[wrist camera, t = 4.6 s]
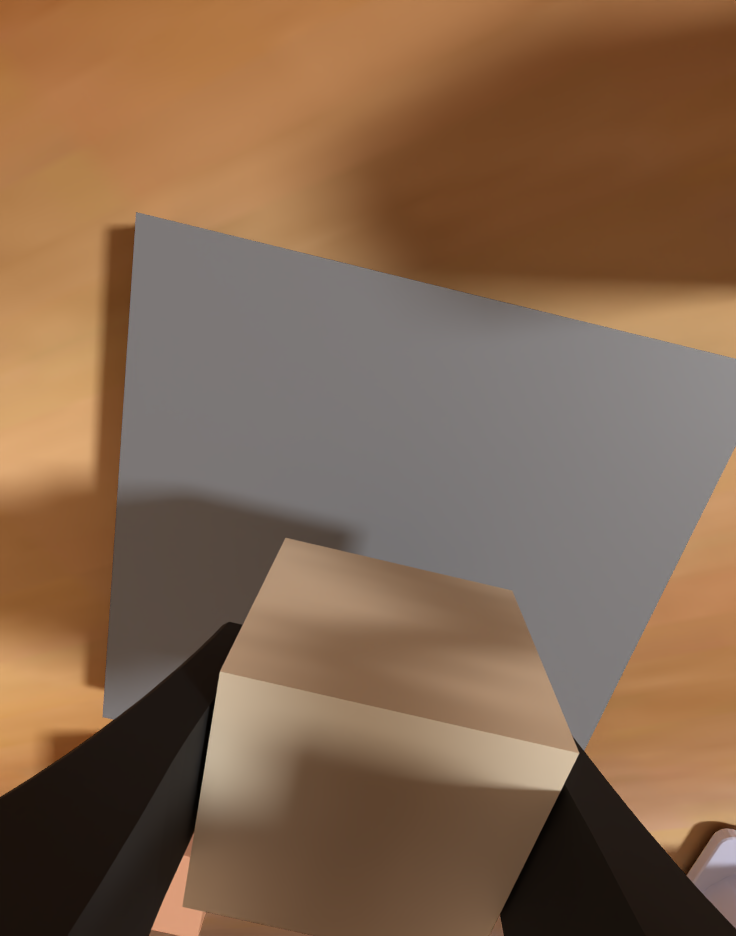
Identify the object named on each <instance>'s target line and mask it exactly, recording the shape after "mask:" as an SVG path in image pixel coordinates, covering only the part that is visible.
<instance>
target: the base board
mask: <svg viewBox="0 0 736 936" xmlns="http://www.w3.org/2000/svg"><path fill="white" fill-rule="evenodd" d="M735 446H736V359H734V358H730V357H726V356H722V355H718V354H714V353H710V352H706V351H702V350H697V349H693V348H689V347H685V346H681V345H677V344H673V343H669V342H665V341H661V340H657V339H652V338H648V337H644V336H640V335H636V334H632V333H628V332H624V331H620V330H616V329H612V328H607V327H603V326H599V325H595V324H591V323H587V322H583V321H579V320H575V319H571V318H567V317H562V316H558V315H554V314H550V313H546V312H542V311H538V310H534V309H530V308H526V307H522V306H518V305H513V304H509V303H505V302H501V301H497V300H493V299H489V298H485V297H481V296H477V295H473V294H468V293H464V292H460V291H456V290H452V289H448V288H444V287H440V286H436V285H432V284H428V283H423V282H419V281H415V280H411V279H407V278H403V277H399V276H395V275H391V274H387V273H383V272H379V271H374V270H370V269H366V268H362V267H358V266H354V265H350V264H346V263H342V262H338V261H334V260H329V259H325V258H321V257H317V256H313V255H309V254H305V253H301V252H297V251H293V250H289V249H284V248H280V247H276V246H272V245H268V244H264V243H260V242H256V241H252V240H248V239H244V238H240V237H235V236H231V235H227V234H223V233H219V232H215V231H211V230H207V229H203V228H199V227H195V226H190V225H186V224H182V223H178V222H174V221H170V220H166V219H162V218H158V217H154V216H150V215H145V214H141V213H137V212H136V222H135V237H134V252H133V267H132V282H131V297H130V313H129V328H128V343H127V358H126V373H125V388H124V403H123V418H122V433H121V448H120V463H119V478H118V494H117V509H116V524H115V539H114V554H113V569H112V584H111V599H110V614H109V629H108V644H107V660H106V675H105V690H104V705H103V717H105V718H109V719H115V718H117V717H118V716H119V715H121V714H122V713H123V712H124V711H126V710H127V709H128V708H130V707H131V706H132V705H134V704H135V703H136V702H137V701H139V700H140V699H141V698H142V697H144V696H145V695H146V694H147V693H149V692H150V691H151V690H152V689H153V688H155V687H156V686H157V685H158V684H159V683H160V682H162V681H163V680H164V679H165V678H166V677H167V676H169V675H170V674H171V673H172V672H173V671H174V670H176V669H177V668H178V667H179V666H180V665H181V664H182V663H184V662H185V661H186V660H187V659H188V658H189V657H190V656H191V655H192V654H193V653H195V652H196V651H197V650H198V649H199V648H200V647H201V646H202V645H203V644H204V643H205V642H206V641H207V640H208V639H209V638H210V637H211V636H212V635H213V634H214V633H215V632H216V631H217V630H218V629H219V628H220V627H221V626H222V625H224V624H225V623H227V622H233V623H237V624H242V625H243V623H244V621H245V619H246V617H247V615H248V613H249V611H250V609H251V607H252V605H253V603H254V601H255V599H256V597H257V595H258V593H259V591H260V589H261V587H262V585H263V583H264V581H265V579H266V577H267V575H268V572H269V570H270V568H271V566H272V564H273V562H274V560H275V558H276V556H277V554H278V552H279V550H280V548H281V546H282V544H283V542H284V540H285V538H289V539H293V540H298V541H302V542H306V543H310V544H315V545H319V546H323V547H328V548H332V549H336V550H340V551H345V552H349V553H353V554H358V555H362V556H366V557H370V558H375V559H379V560H383V561H388V562H392V563H396V564H400V565H405V566H409V567H413V568H418V569H422V570H426V571H430V572H435V573H439V574H443V575H448V576H452V577H456V578H460V579H465V580H469V581H473V582H478V583H482V584H486V585H490V586H495V587H499V588H503V589H508V590H512V591H513V594H514V596H515V599H516V601H517V604H518V606H519V608H520V611H521V613H522V616H523V618H524V620H525V623H526V625H527V628H528V630H529V633H530V635H531V637H532V640H533V642H534V645H535V647H536V650H537V652H538V654H539V657H540V659H541V662H542V664H543V667H544V669H545V671H546V674H547V676H548V679H549V681H550V683H551V686H552V688H553V691H554V693H555V696H556V698H557V700H558V703H559V705H560V708H561V710H562V713H563V715H564V717H565V720H566V722H567V725H568V727H569V730H570V732H571V734H572V736H573V737H574V739H575V740H576V741H577V742H578V744H579V745H580V746H581V748H582V749H583V750H585V748H586V746H587V744H588V742H589V740H590V738H591V736H592V734H593V732H594V730H595V728H596V726H597V724H598V722H599V720H600V718H601V716H602V714H603V712H604V710H605V708H606V706H607V704H608V702H609V700H610V698H611V696H612V694H613V692H614V690H615V688H616V686H617V684H618V681H619V679H620V677H621V675H622V673H623V671H624V669H625V667H626V665H627V663H628V661H629V659H630V657H631V655H632V653H633V651H634V649H635V647H636V645H637V643H638V641H639V639H640V637H641V635H642V633H643V631H644V629H645V627H646V625H647V623H648V621H649V619H650V617H651V615H652V613H653V611H654V609H655V607H656V605H657V603H658V601H659V599H660V597H661V595H662V593H663V591H664V589H665V587H666V585H667V583H668V581H669V579H670V577H671V575H672V573H673V571H674V569H675V567H676V565H677V563H678V561H679V559H680V557H681V555H682V553H683V551H684V549H685V547H686V545H687V543H688V541H689V539H690V537H691V535H692V533H693V531H694V529H695V527H696V525H697V523H698V521H699V519H700V517H701V515H702V513H703V511H704V509H705V507H706V505H707V503H708V501H709V498H710V496H711V494H712V492H713V490H714V488H715V486H716V484H717V482H718V480H719V478H720V476H721V474H722V472H723V470H724V468H725V466H726V464H727V462H728V460H729V458H730V456H731V454H732V452H733V450H734V448H735Z"/></svg>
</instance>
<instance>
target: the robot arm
mask: <svg viewBox="0 0 736 936" xmlns="http://www.w3.org/2000/svg"><path fill="white" fill-rule="evenodd" d="M241 628H242V624H237V623H233V622H227V623H225V624H224V625H222V626H221V627H220V628H219V629H218V630H217V631H216V632H215V633H214V634H213V635H212V636H211V637H210V638H209V639H208V640H207V641H206V642H205V643H204V644H203V645H202V646H201V647H200V648H199V649H198V650H197V651H196V652H195V653H193V654H192V655H191V656H190V657H189V658H188V659H187V660H186V661H185V662H184V663H182V664H181V665H180V666H179V667H178V668H177V669H176V670H174V671H173V672H172V673H171V674H170V675H169V676H167V677H166V678H165V679H164V680H163V681H162V682H160V683H159V684H158V685H157V686H156V687H155V688H153V689H152V690H151V691H150V692H149V693H147V694H146V695H145V696H144V697H142V698H141V699H140V700H139V701H137V702H136V703H135V704H134V705H132V706H131V707H130V708H128V709H127V710H126V711H124V712H123V713H122V714H121V715H119V716H118V717H117V718H115V719H114V720H113V721H111V722H110V723H109V724H108V725H106V726H105V727H104V728H102V729H101V730H100V731H98V732H97V733H96V734H94V735H93V736H92V737H90V738H89V739H87V740H86V741H85V742H83V743H82V744H80V745H79V746H78V747H76V748H75V749H73V750H72V751H70V752H69V753H68V754H66V755H65V756H63V757H62V758H60V759H59V760H57V761H56V762H54V763H53V764H51V765H50V766H48V767H47V768H45V769H44V770H42V771H41V772H39V773H38V774H36V775H35V776H33V777H32V778H30V779H29V780H27V781H25V782H24V783H22V784H21V785H19V786H17V787H16V788H14V789H13V790H11V791H9V792H8V793H6V794H4V795H3V796H1V797H0V936H149V934H150V931H151V929H152V926H153V924H154V922H155V919H156V917H157V914H158V912H159V910H160V907H161V905H162V902H163V900H164V898H165V895H166V893H167V891H168V889H169V886H170V884H171V882H172V880H173V878H174V875H175V873H176V871H177V869H178V867H179V864H180V862H181V860H182V858H183V856H184V853H185V851H186V849H187V847H188V845H189V842H190V840H191V838H192V836H193V834H194V831H195V824H196V818H197V812H198V806H199V799H200V793H201V787H202V781H203V774H204V768H205V762H206V756H207V749H208V743H209V737H210V731H211V724H212V718H213V712H214V706H215V699H216V693H217V687H218V680H219V674H220V670H221V668H222V666H223V664H224V662H225V660H226V658H227V656H228V654H229V652H230V650H231V648H232V646H233V644H234V642H235V640H236V638H237V636H238V634H239V632H240V630H241ZM572 737H573V736H572ZM573 739H574V737H573ZM574 742H575V744H576V746H577V749H578V751H579V755H578V757H577V759H576V761H575V763H574V765H573V767H572V769H571V771H570V773H569V775H568V777H567V779H566V781H565V783H564V785H563V787H562V789H561V791H560V793H559V795H558V797H557V799H556V802H555V804H554V806H553V808H552V810H551V812H550V814H549V816H548V818H547V820H546V822H545V824H544V826H543V828H542V830H541V832H540V834H539V836H538V838H537V840H536V842H535V844H534V846H533V848H532V850H531V852H530V854H529V856H528V858H527V860H526V862H525V864H524V866H523V868H522V870H521V872H520V874H519V876H518V878H517V880H516V882H515V884H514V886H513V888H512V890H511V892H510V895H509V897H508V899H507V901H506V903H505V905H504V907H503V909H502V911H501V913H500V917H501V922H502V928H503V933H504V936H736V830H734V829H728V828H725V829H720V830H718V831H716V832H715V833H714V835H713V836H712V838H711V839H710V841H709V842H708V844H707V845H706V847H705V848H704V850H703V851H702V853H701V854H700V856H699V857H698V859H697V860H696V862H695V863H694V865H693V866H692V868H691V869H690V871H689V872H688V874H687V875H685V873H684V872H683V871H682V870H681V869H680V868H679V867H678V865H677V864H676V863H675V862H674V861H673V860H672V858H671V857H670V856H669V855H668V854H667V853H666V851H665V850H664V849H663V848H662V847H661V846H660V844H659V843H658V842H657V841H656V840H655V839H654V837H653V836H652V835H651V834H650V833H649V832H648V830H647V829H646V828H645V827H644V826H643V825H642V823H641V822H640V821H639V820H638V818H637V817H636V816H635V815H634V814H633V812H632V811H631V810H630V809H629V807H628V806H627V805H626V804H625V803H624V801H623V800H622V799H621V798H620V796H619V795H618V794H617V793H616V791H615V790H614V789H613V788H612V786H611V785H610V784H609V782H608V781H607V780H606V779H605V777H604V776H603V775H602V774H601V772H600V771H599V770H598V768H597V767H596V766H595V765H594V763H593V762H592V761H591V759H590V758H589V757H588V756H587V754H586V753H585V752H584V750H583V749H582V748H581V746H580V745H579V744H578V742H577V741H576V740H575V739H574Z"/></svg>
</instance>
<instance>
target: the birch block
mask: <svg viewBox="0 0 736 936" xmlns="http://www.w3.org/2000/svg"><path fill="white" fill-rule="evenodd" d="M578 755H579V751H578V749H577V746H576V744H575V742H574V739H573V737H572V734H571V732H570V730H569V727H568V725H567V722H566V720H565V717H564V715H563V713H562V710H561V708H560V705H559V703H558V700H557V698H556V696H555V693H554V691H553V688H552V686H551V683H550V681H549V679H548V676H547V674H546V671H545V669H544V667H543V664H542V662H541V659H540V657H539V654H538V652H537V650H536V647H535V645H534V642H533V640H532V637H531V635H530V633H529V630H528V628H527V625H526V623H525V620H524V618H523V616H522V613H521V611H520V608H519V606H518V604H517V601H516V599H515V596H514V594H513V591H512V590H508V589H503V588H499V587H495V586H490V585H486V584H482V583H478V582H473V581H469V580H465V579H460V578H456V577H452V576H448V575H443V574H439V573H435V572H430V571H426V570H422V569H418V568H413V567H409V566H405V565H400V564H396V563H392V562H388V561H383V560H379V559H375V558H370V557H366V556H362V555H358V554H353V553H349V552H345V551H340V550H336V549H332V548H328V547H323V546H319V545H315V544H310V543H306V542H302V541H298V540H293V539H289V538H285V540H284V542H283V544H282V546H281V548H280V550H279V552H278V554H277V556H276V558H275V560H274V562H273V564H272V566H271V568H270V570H269V572H268V575H267V577H266V579H265V581H264V583H263V585H262V587H261V589H260V591H259V593H258V595H257V597H256V599H255V601H254V603H253V605H252V607H251V609H250V611H249V613H248V615H247V617H246V619H245V621H244V623H243V625H242V628H241V630H240V632H239V634H238V636H237V638H236V640H235V642H234V644H233V646H232V648H231V650H230V652H229V654H228V656H227V658H226V660H225V662H224V664H223V666H222V668H221V670H220V674H219V680H218V687H217V693H216V699H215V706H214V712H213V718H212V724H211V731H210V737H209V743H208V749H207V756H206V762H205V768H204V774H203V781H202V787H201V793H200V799H199V806H198V812H197V818H196V824H195V831H194V837H193V843H192V849H191V856H190V862H189V868H188V874H187V881H186V887H185V893H184V899H183V906H182V907H185V908H189V909H194V910H199V911H203V912H208V913H212V914H217V915H221V916H226V917H231V918H235V919H240V920H244V921H249V922H253V923H258V924H263V925H267V926H272V927H276V928H281V929H285V930H290V931H295V932H299V933H304V934H308V935H313V936H489V935H490V933H491V931H492V929H493V927H494V925H495V923H496V921H497V919H498V917H499V915H500V913H501V911H502V909H503V907H504V905H505V903H506V901H507V899H508V897H509V895H510V892H511V890H512V888H513V886H514V884H515V882H516V880H517V878H518V876H519V874H520V872H521V870H522V868H523V866H524V864H525V862H526V860H527V858H528V856H529V854H530V852H531V850H532V848H533V846H534V844H535V842H536V840H537V838H538V836H539V834H540V832H541V830H542V828H543V826H544V824H545V822H546V820H547V818H548V816H549V814H550V812H551V810H552V808H553V806H554V804H555V802H556V799H557V797H558V795H559V793H560V791H561V789H562V787H563V785H564V783H565V781H566V779H567V777H568V775H569V773H570V771H571V769H572V767H573V765H574V763H575V761H576V759H577V757H578Z"/></svg>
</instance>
